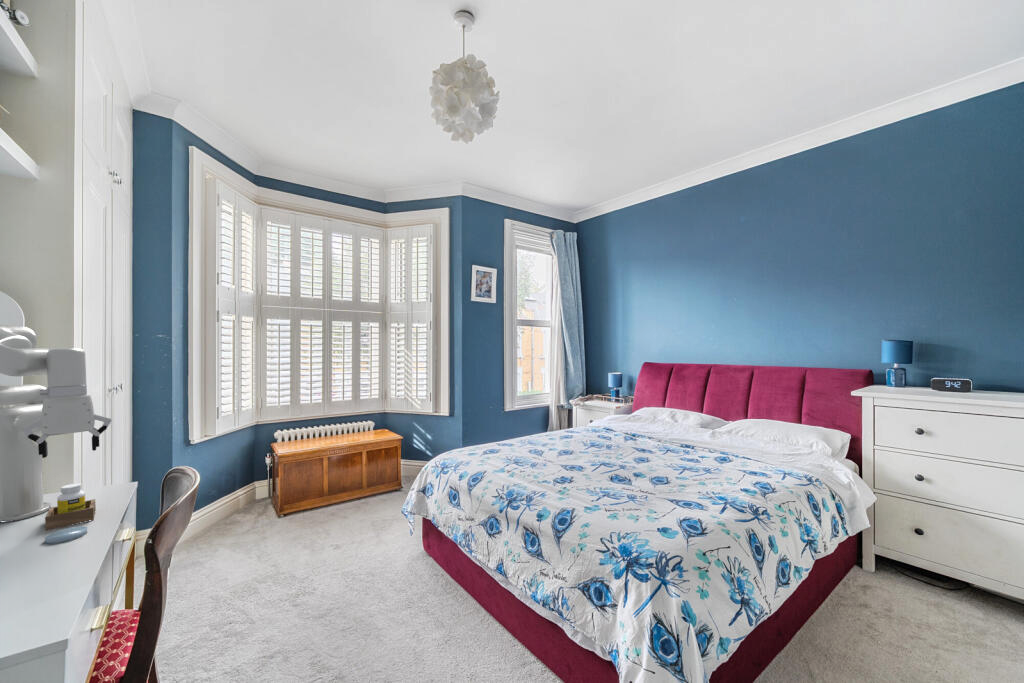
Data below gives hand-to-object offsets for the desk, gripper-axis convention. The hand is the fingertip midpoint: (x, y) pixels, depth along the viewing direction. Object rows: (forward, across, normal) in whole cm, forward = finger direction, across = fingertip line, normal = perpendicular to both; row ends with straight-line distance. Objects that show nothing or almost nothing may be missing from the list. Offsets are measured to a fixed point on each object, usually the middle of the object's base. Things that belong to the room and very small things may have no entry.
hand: (70, 453), depth 119 cm
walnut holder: (+19, 0, 0) cm, 19 cm away
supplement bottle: (+19, 0, 0) cm, 19 cm away
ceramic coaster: (+19, 0, -14) cm, 23 cm away
